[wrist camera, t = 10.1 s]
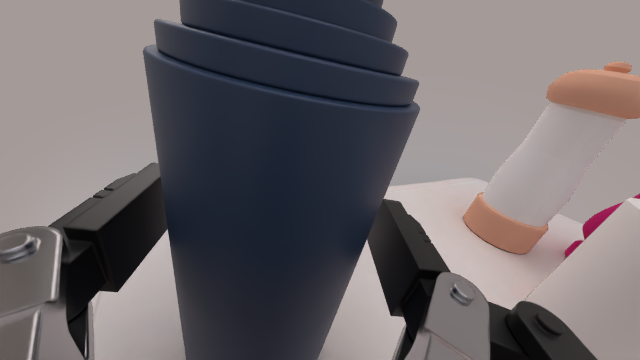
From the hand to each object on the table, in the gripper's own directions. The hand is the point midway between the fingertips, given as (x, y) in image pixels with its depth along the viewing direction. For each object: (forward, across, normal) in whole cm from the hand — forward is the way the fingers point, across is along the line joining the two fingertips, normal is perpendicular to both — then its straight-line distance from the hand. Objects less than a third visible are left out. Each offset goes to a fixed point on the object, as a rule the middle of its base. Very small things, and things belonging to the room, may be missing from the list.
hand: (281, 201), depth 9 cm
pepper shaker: (+13, -26, +9) cm, 31 cm away
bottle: (-1, 0, +9) cm, 9 cm away
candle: (+1, -24, +9) cm, 26 cm away
